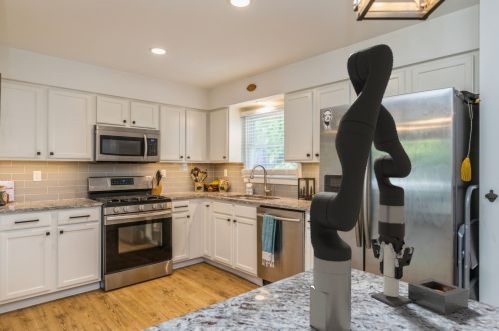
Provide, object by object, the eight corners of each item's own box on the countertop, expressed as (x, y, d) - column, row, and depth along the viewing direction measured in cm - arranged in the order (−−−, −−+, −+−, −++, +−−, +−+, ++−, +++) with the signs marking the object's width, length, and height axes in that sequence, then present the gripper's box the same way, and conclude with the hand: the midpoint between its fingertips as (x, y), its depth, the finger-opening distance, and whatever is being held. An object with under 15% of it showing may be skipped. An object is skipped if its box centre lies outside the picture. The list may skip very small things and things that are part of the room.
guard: (444, 314, 84) (444, 296, 85) (408, 299, 94) (408, 283, 94) (467, 307, 89) (467, 290, 90) (430, 293, 99) (430, 278, 99)
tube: (400, 297, 92) (400, 246, 92) (385, 295, 93) (385, 245, 93) (396, 291, 96) (397, 243, 96) (382, 290, 97) (382, 242, 97)
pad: (393, 306, 89) (393, 304, 89) (371, 296, 96) (371, 294, 96) (411, 301, 93) (411, 299, 93) (388, 292, 100) (388, 290, 100)
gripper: (364, 217, 100) (363, 271, 99) (404, 224, 87) (403, 286, 86) (380, 216, 103) (380, 268, 103) (421, 222, 90) (421, 282, 90)
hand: (390, 276), depth 94 cm, fingers open, 4 cm apart
